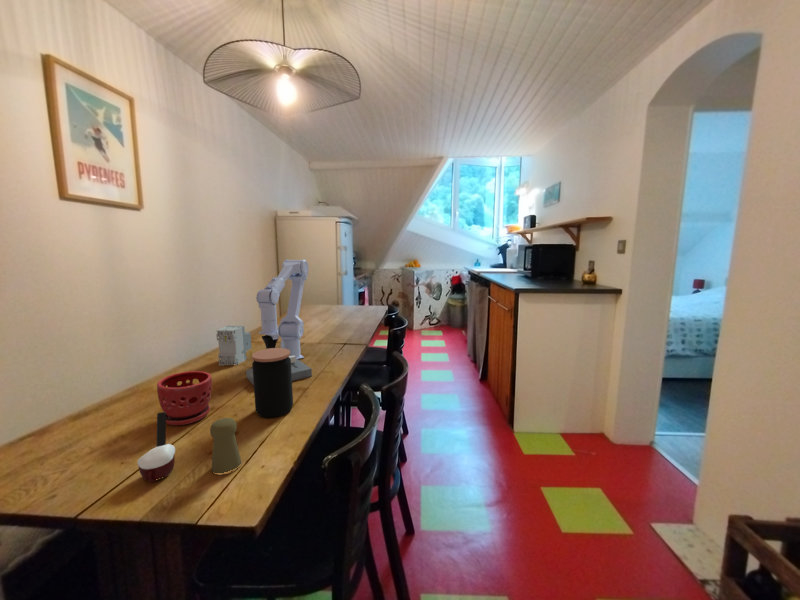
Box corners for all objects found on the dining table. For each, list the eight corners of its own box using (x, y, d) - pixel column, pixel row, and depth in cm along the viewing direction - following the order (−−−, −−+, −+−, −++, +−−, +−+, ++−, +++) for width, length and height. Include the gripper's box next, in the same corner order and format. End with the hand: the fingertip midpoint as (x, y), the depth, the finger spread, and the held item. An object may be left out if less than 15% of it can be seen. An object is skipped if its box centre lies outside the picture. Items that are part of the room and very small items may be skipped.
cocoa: (156, 491, 68) (149, 438, 66) (128, 488, 69) (120, 436, 66) (189, 460, 78) (184, 413, 75) (164, 458, 78) (158, 411, 76)
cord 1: (250, 370, 135) (250, 366, 135) (254, 369, 136) (254, 365, 136) (255, 375, 129) (254, 371, 129) (259, 374, 130) (259, 370, 130)
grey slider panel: (246, 377, 127) (246, 369, 127) (298, 366, 139) (297, 358, 139) (257, 389, 116) (256, 381, 116) (311, 376, 128) (311, 368, 128)
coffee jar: (300, 405, 105) (297, 349, 102) (277, 422, 95) (273, 360, 92) (272, 400, 108) (268, 346, 105) (247, 415, 98) (242, 356, 95)
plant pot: (157, 434, 88) (152, 391, 87) (165, 413, 100) (160, 374, 98) (214, 422, 94) (210, 382, 93) (215, 403, 106) (211, 367, 104)
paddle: (286, 362, 133) (286, 357, 133) (294, 361, 135) (294, 355, 135) (287, 363, 132) (287, 358, 132) (295, 362, 134) (295, 356, 134)
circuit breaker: (254, 355, 154) (251, 323, 151) (235, 365, 140) (233, 330, 137) (238, 354, 154) (236, 322, 152) (219, 365, 140) (215, 330, 138)
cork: (218, 458, 78) (214, 414, 76) (245, 457, 79) (242, 413, 77) (206, 476, 72) (201, 428, 71) (235, 474, 73) (231, 427, 71)
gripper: (253, 318, 134) (255, 350, 136) (264, 324, 123) (266, 360, 125) (271, 315, 139) (273, 347, 141) (283, 321, 127) (285, 356, 129)
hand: (271, 353), depth 133 cm, fingers closed
